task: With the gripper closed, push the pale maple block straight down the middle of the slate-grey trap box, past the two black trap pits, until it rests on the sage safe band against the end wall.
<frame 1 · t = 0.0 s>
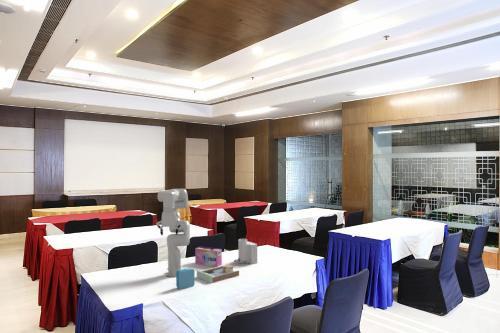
hand: (169, 234, 239), 37 cm above the table, tool pointing down, fingers open, 9 cm apart
gum box: (208, 264, 299), on the table
data package: (185, 287, 243), on the table
maple block: (227, 271, 272), point 2 cm above the table, touching trap box
trap box: (218, 276, 266), on the table
control panel: (243, 262, 303), on the table
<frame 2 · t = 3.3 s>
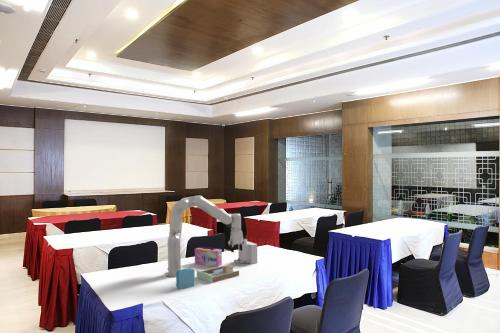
hand: (236, 251, 278), 16 cm above the table, tool pointing down, fingers open, 8 cm apart
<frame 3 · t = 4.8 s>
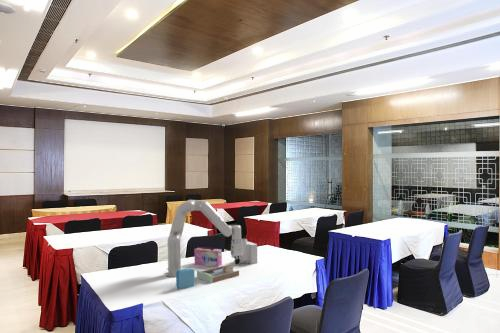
hand: (237, 263, 278), 6 cm above the table, tool pointing down, fingers closed
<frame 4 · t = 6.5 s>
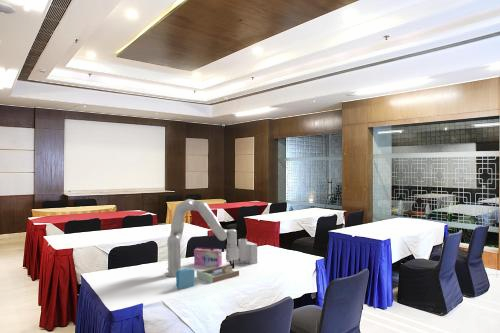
hand: (232, 268, 275), 3 cm above the table, tool pointing down, fingers closed
maple block: (227, 271, 272), point 2 cm above the table, touching gripper, trap box
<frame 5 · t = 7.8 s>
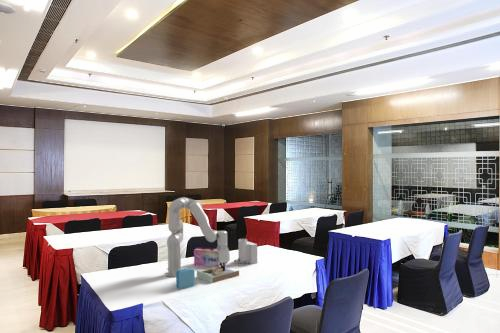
hand: (222, 270, 269), 3 cm above the table, tool pointing down, fingers closed
maple block: (217, 273, 265), point 2 cm above the table, touching gripper, trap box
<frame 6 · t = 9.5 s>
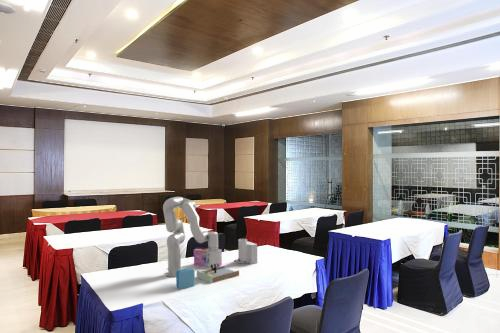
hand: (214, 272, 263), 4 cm above the table, tool pointing down, fingers closed
maple block: (209, 276, 259), point 2 cm above the table, touching gripper, trap box
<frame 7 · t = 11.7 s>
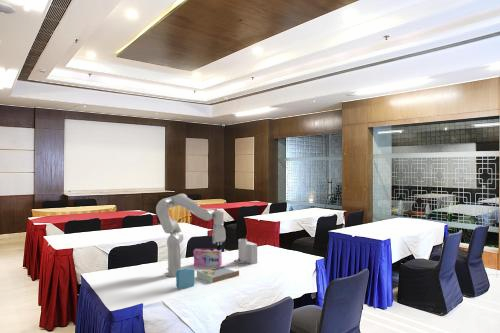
hand: (218, 250, 268), 19 cm above the table, tool pointing down, fingers closed
maple block: (209, 276, 259), point 2 cm above the table, touching trap box
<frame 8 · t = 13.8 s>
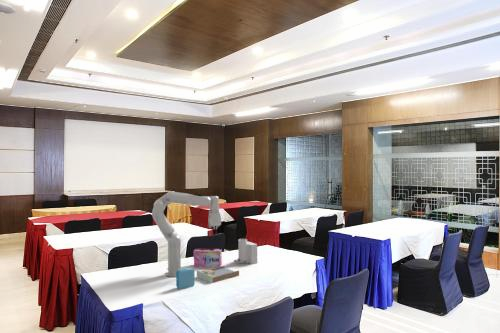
hand: (214, 234, 282), 29 cm above the table, tool pointing down, fingers closed
at the end: maple block 1.3 cm from the target spot on the trap box, point 2.0 cm above the trap box's base; maple block tilted 0°; the gripper is holding nothing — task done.
